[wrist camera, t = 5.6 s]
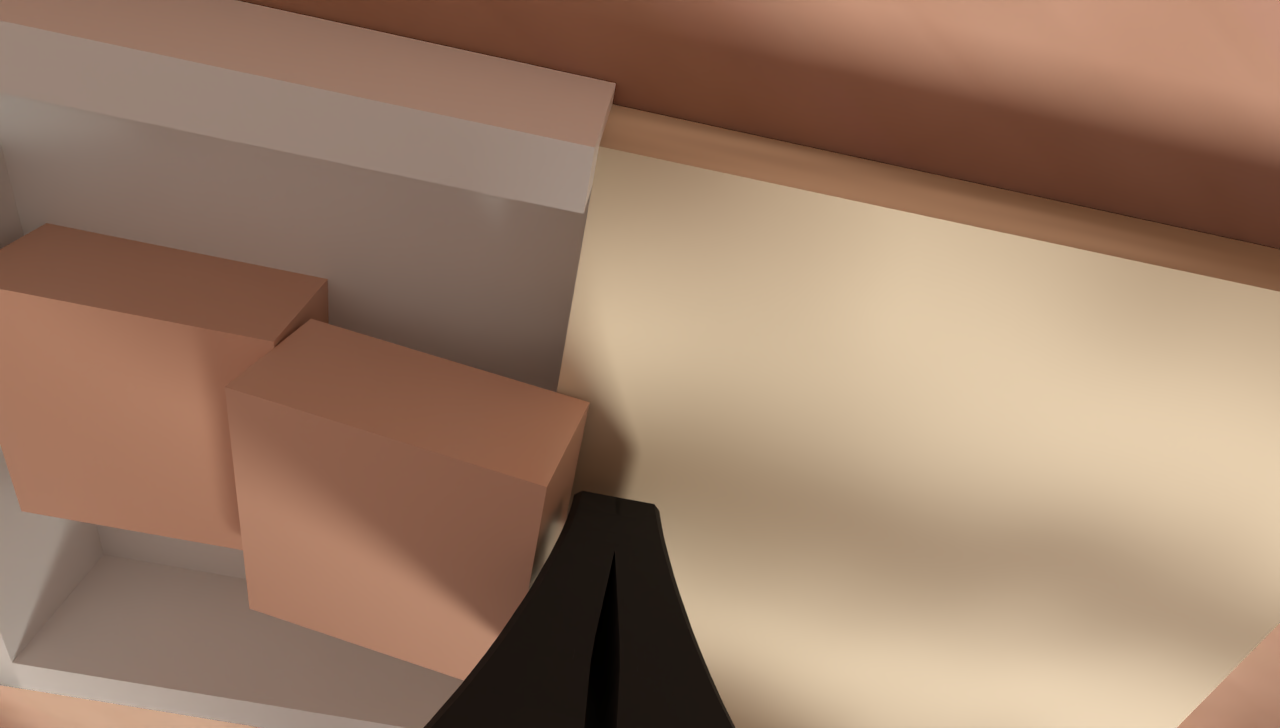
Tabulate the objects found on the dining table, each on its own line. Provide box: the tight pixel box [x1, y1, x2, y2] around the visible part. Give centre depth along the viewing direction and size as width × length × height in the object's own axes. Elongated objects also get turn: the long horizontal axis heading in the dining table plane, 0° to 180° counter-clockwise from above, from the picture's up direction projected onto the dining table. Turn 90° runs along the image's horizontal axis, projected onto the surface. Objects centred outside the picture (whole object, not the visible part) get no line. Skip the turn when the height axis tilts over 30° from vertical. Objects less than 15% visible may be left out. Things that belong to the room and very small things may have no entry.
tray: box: [0, 0, 616, 728], centre depth 13 cm, size 13×10×3 cm
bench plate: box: [557, 104, 1280, 728], centre depth 14 cm, size 12×13×2 cm
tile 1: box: [225, 319, 590, 680], centre depth 12 cm, size 4×4×2 cm
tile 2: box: [0, 223, 329, 550], centre depth 13 cm, size 4×4×2 cm
